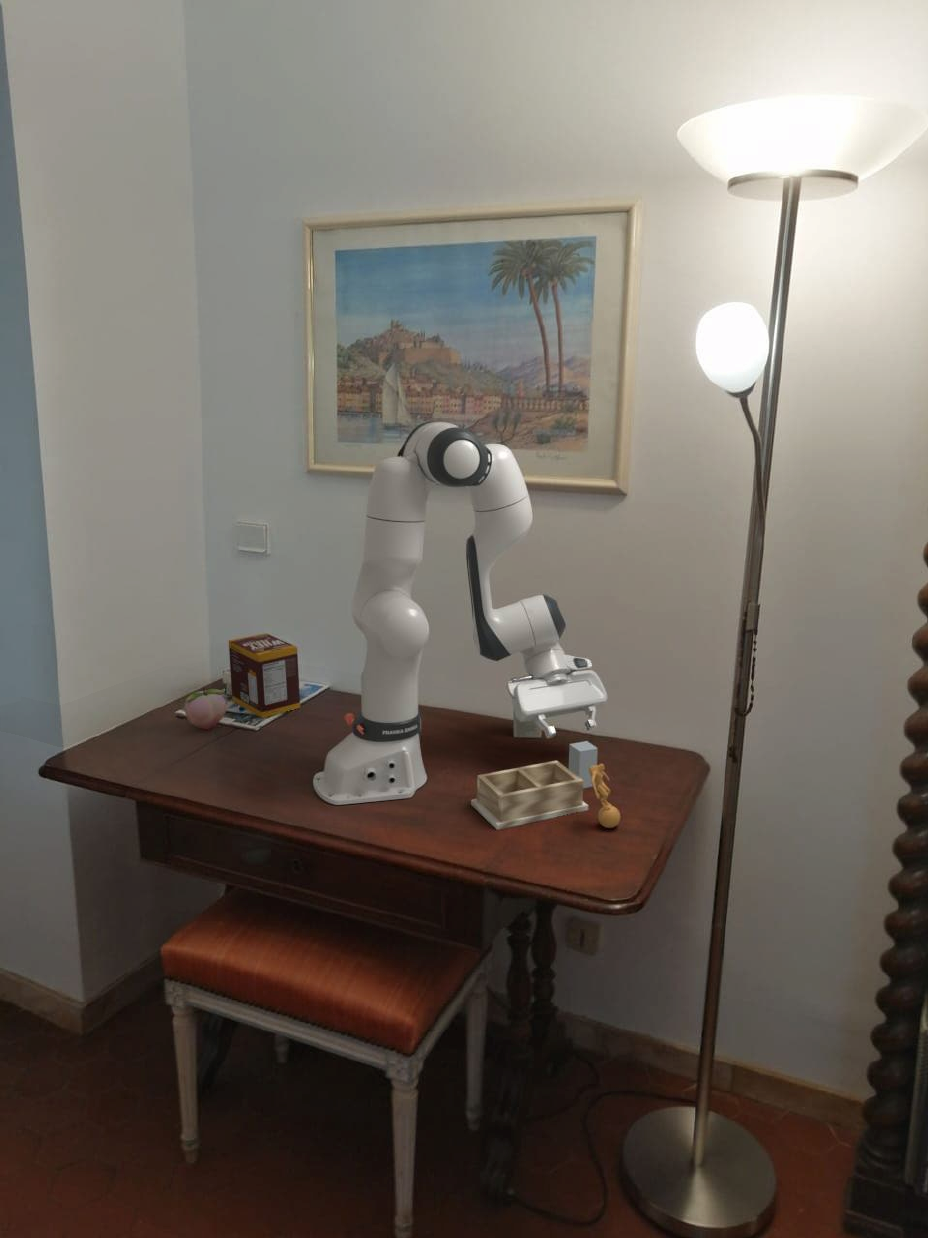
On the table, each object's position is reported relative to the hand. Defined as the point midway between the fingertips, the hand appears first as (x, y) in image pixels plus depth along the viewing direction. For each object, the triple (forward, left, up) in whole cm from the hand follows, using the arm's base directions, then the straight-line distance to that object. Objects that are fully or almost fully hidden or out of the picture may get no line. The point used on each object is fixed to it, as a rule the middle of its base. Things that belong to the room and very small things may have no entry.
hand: (572, 732), depth 195 cm
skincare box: (+2, +22, -9) cm, 24 cm away
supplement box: (-47, +64, -9) cm, 80 cm away
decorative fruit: (-63, +54, -9) cm, 84 cm away
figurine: (-6, -22, -9) cm, 24 cm away
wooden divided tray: (-15, -10, -9) cm, 20 cm away
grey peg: (0, -5, -9) cm, 10 cm away
